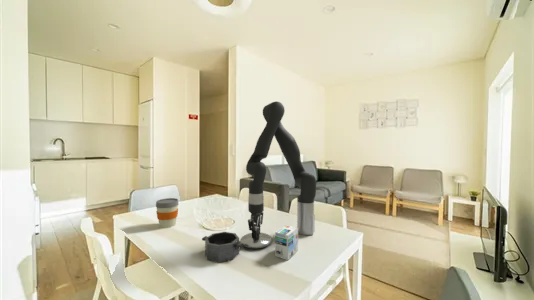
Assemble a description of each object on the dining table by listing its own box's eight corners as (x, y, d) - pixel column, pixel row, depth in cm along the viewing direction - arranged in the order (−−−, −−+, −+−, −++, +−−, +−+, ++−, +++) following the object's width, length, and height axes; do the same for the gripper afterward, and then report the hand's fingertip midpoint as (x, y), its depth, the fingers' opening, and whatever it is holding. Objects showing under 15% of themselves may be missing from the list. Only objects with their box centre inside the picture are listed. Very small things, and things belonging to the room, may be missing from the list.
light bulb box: (288, 260, 94) (288, 235, 94) (274, 256, 98) (274, 232, 98) (298, 250, 104) (298, 227, 103) (285, 246, 107) (285, 224, 107)
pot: (249, 250, 103) (249, 235, 103) (234, 266, 90) (233, 249, 90) (212, 243, 110) (212, 229, 110) (193, 257, 97) (193, 241, 97)
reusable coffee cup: (169, 220, 144) (168, 197, 143) (183, 223, 138) (183, 199, 138) (151, 227, 132) (150, 201, 132) (166, 230, 127) (165, 204, 126)
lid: (274, 238, 116) (274, 222, 115) (266, 252, 101) (265, 234, 101) (247, 235, 120) (247, 220, 120) (235, 248, 106) (235, 231, 105)
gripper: (257, 206, 102) (257, 243, 103) (268, 199, 115) (268, 231, 116) (242, 204, 105) (242, 240, 105) (255, 197, 118) (255, 229, 119)
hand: (256, 235), depth 111 cm, fingers open, 4 cm apart
